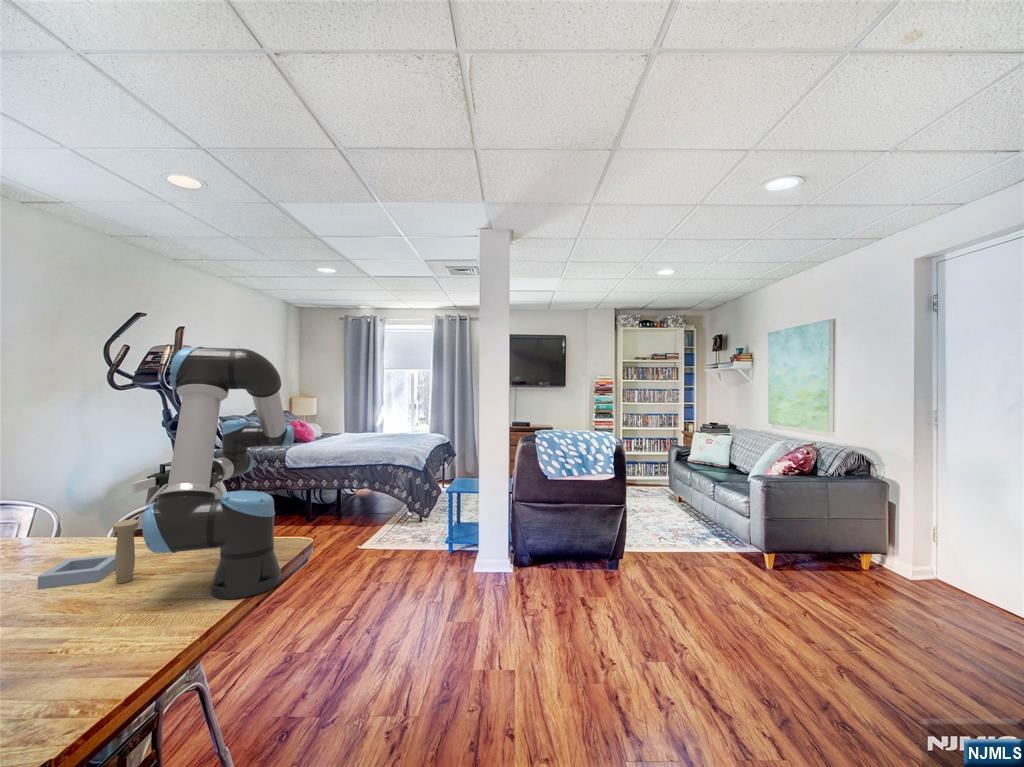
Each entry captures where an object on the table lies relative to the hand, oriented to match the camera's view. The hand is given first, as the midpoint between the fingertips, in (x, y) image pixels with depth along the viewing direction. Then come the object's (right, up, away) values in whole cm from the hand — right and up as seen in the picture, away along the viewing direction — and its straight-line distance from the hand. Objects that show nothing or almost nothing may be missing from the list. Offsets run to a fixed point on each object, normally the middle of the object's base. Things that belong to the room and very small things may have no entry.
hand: (156, 488), depth 122 cm
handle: (-1, -22, -9) cm, 24 cm away
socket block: (-15, -22, -6) cm, 27 cm away
